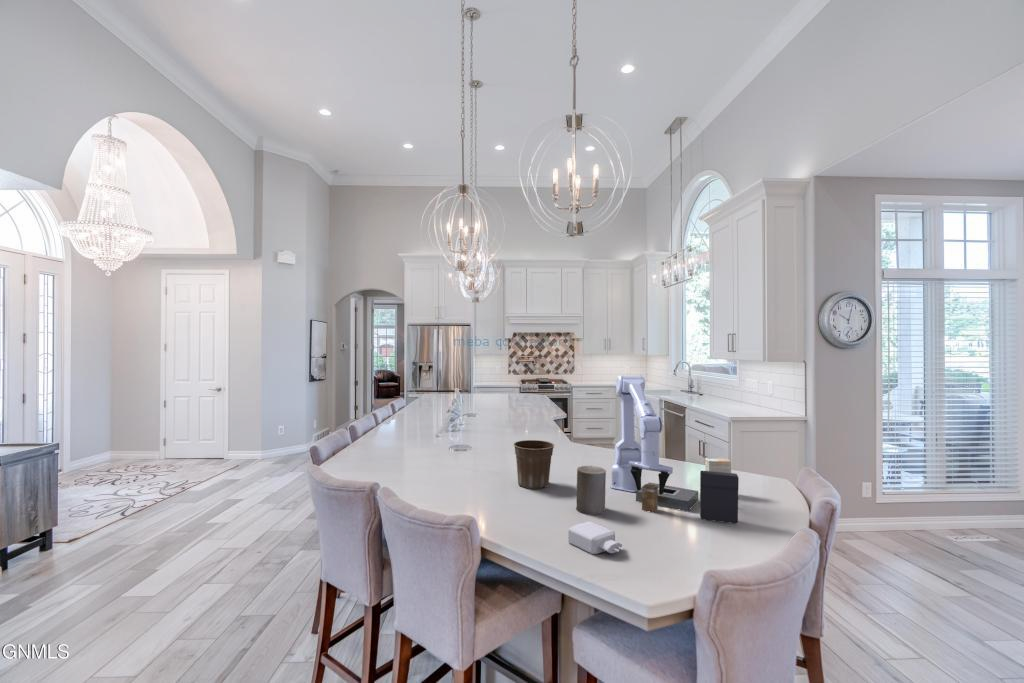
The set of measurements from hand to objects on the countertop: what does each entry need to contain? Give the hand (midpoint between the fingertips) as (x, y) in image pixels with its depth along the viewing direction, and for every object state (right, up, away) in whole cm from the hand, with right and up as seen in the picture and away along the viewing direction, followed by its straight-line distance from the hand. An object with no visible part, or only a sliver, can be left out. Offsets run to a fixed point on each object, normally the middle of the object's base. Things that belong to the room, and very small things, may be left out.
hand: (649, 491), depth 161 cm
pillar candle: (-20, -6, -1) cm, 21 cm away
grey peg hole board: (+9, -6, +10) cm, 15 cm away
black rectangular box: (+19, -7, -9) cm, 22 cm away
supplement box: (+31, -7, +19) cm, 37 cm away
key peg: (0, -6, 0) cm, 6 cm away
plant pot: (-38, -6, +28) cm, 48 cm away
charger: (-23, -6, -32) cm, 39 cm away
